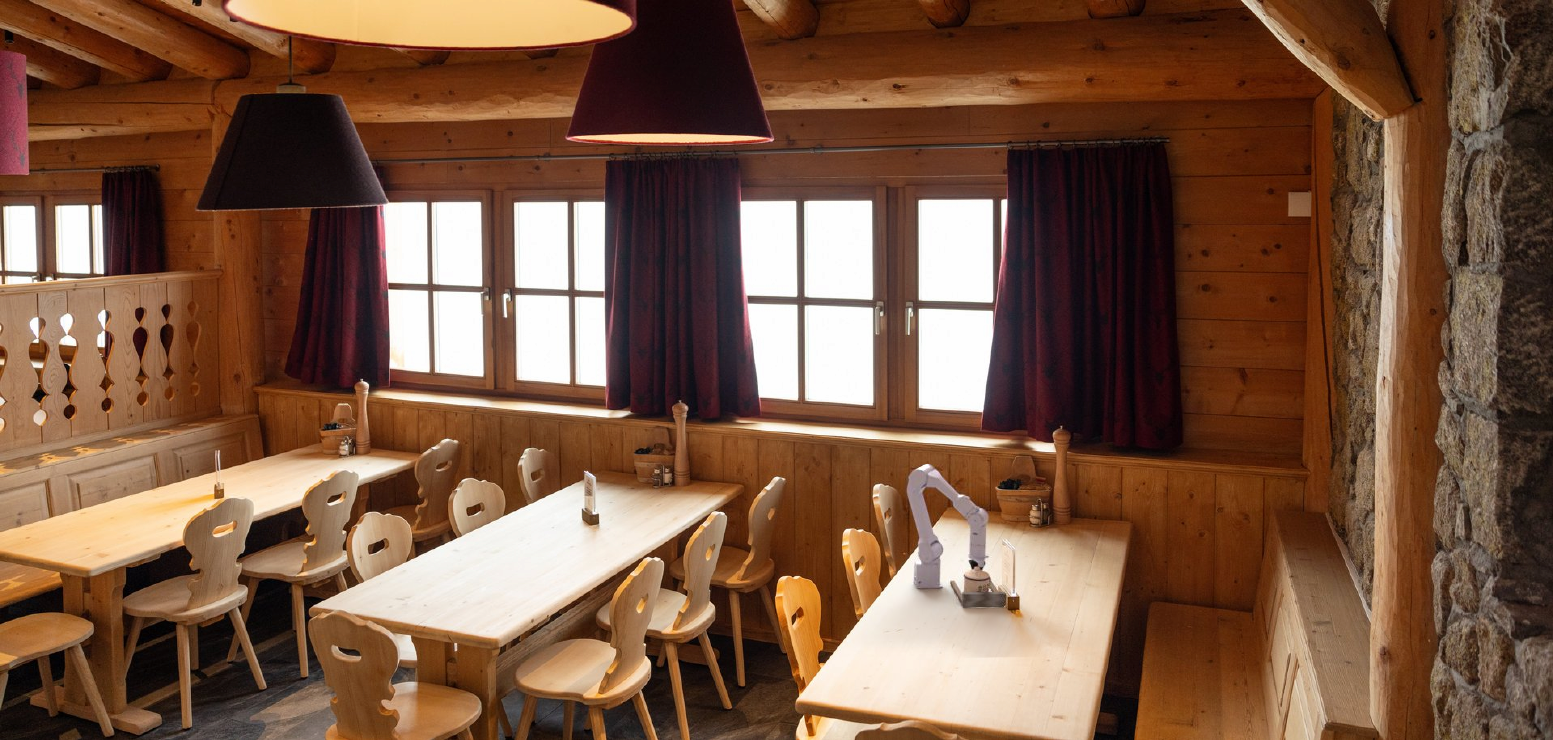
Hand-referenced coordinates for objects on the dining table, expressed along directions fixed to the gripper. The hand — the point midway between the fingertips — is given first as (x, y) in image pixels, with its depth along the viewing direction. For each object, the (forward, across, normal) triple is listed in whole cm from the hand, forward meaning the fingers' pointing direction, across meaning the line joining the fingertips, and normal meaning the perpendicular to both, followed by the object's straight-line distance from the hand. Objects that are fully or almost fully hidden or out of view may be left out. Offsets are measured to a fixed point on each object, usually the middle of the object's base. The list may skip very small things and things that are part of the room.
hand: (976, 579), depth 425 cm
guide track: (+5, -2, 0) cm, 5 cm away
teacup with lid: (+5, -5, 0) cm, 7 cm away
